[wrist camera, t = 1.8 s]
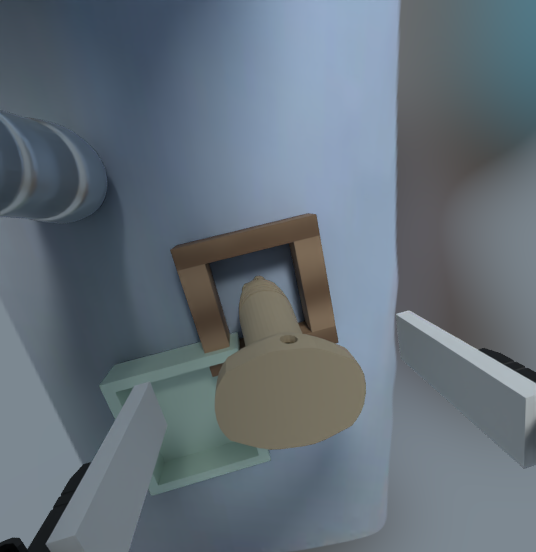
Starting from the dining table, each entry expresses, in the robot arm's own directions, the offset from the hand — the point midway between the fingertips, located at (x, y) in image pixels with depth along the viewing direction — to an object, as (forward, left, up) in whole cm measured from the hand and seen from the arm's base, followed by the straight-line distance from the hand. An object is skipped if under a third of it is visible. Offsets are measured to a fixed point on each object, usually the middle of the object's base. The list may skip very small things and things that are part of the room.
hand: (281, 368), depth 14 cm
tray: (+10, -9, -12) cm, 18 cm away
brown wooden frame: (0, 0, -12) cm, 12 cm away
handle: (0, 0, -12) cm, 12 cm away
